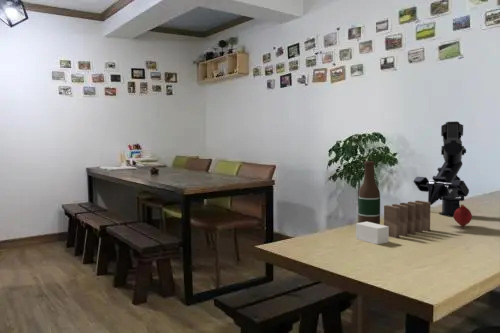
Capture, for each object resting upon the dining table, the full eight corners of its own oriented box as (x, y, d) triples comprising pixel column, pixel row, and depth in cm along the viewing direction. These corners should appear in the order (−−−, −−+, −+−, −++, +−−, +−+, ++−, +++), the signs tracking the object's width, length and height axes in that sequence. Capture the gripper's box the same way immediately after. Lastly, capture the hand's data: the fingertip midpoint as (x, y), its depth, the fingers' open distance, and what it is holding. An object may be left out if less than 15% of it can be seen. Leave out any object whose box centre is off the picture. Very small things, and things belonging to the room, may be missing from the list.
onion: (467, 224, 153) (468, 203, 153) (474, 228, 147) (475, 205, 147) (451, 224, 154) (451, 203, 153) (457, 228, 148) (457, 205, 147)
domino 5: (417, 228, 149) (418, 200, 148) (430, 230, 145) (430, 202, 144) (414, 228, 148) (415, 200, 147) (427, 231, 144) (427, 202, 143)
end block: (366, 236, 138) (366, 221, 138) (388, 242, 131) (388, 226, 130) (355, 238, 136) (355, 223, 136) (377, 244, 128) (377, 228, 128)
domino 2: (395, 232, 143) (395, 203, 142) (407, 235, 139) (407, 205, 138) (391, 233, 142) (392, 204, 141) (404, 236, 138) (404, 206, 137)
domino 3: (402, 231, 145) (403, 202, 144) (415, 234, 141) (415, 204, 140) (399, 231, 144) (400, 203, 143) (412, 234, 140) (412, 205, 139)
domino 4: (410, 229, 147) (410, 201, 146) (422, 232, 143) (423, 203, 142) (407, 230, 146) (407, 202, 145) (419, 233, 142) (420, 203, 141)
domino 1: (387, 234, 141) (387, 205, 140) (399, 237, 137) (399, 207, 136) (383, 235, 140) (384, 205, 139) (396, 238, 136) (396, 207, 135)
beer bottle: (355, 227, 151) (356, 161, 149) (360, 223, 158) (361, 160, 156) (377, 229, 148) (378, 162, 146) (382, 225, 154) (382, 160, 152)
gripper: (482, 187, 148) (464, 222, 143) (435, 183, 163) (416, 214, 158) (470, 166, 143) (450, 202, 138) (422, 164, 159) (403, 195, 154)
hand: (429, 204), depth 147 cm, fingers closed
